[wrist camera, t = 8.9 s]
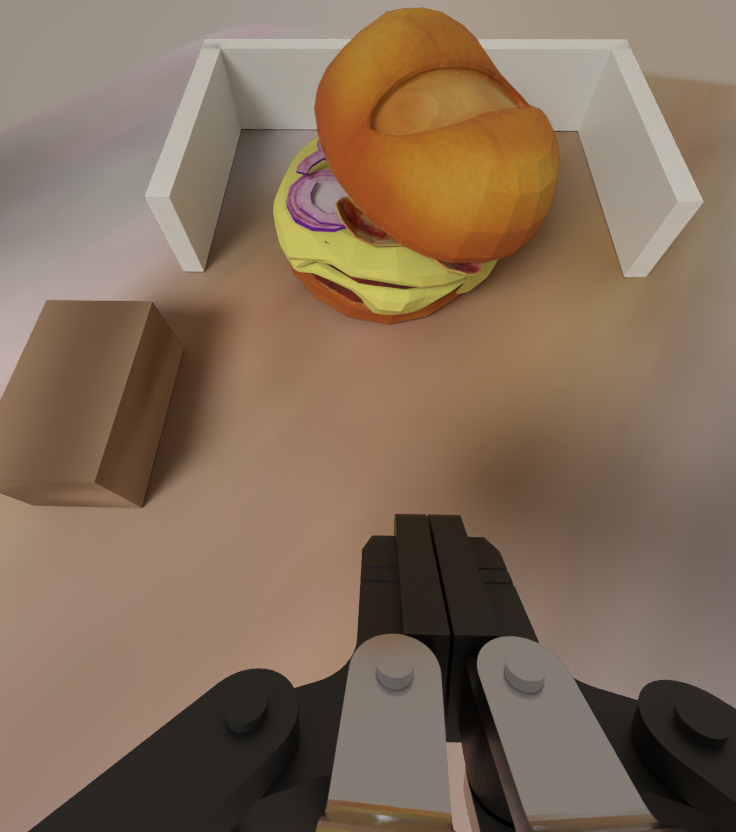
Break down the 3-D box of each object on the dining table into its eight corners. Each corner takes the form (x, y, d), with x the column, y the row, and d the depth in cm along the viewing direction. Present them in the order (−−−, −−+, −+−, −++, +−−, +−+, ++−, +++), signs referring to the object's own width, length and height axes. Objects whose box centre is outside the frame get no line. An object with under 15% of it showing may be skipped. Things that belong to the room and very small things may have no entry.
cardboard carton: (33, 505, 16) (-37, 479, 13) (93, 347, 19) (46, 300, 16) (141, 508, 16) (94, 482, 13) (183, 348, 19) (152, 301, 16)
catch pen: (183, 271, 21) (144, 196, 17) (227, 119, 26) (205, 38, 23) (645, 277, 20) (703, 201, 17) (591, 121, 26) (626, 39, 22)
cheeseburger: (320, 166, 24) (355, -88, 15) (491, 246, 25) (622, 48, 16) (236, 296, 20) (216, 47, 11) (447, 390, 20) (593, 228, 11)
